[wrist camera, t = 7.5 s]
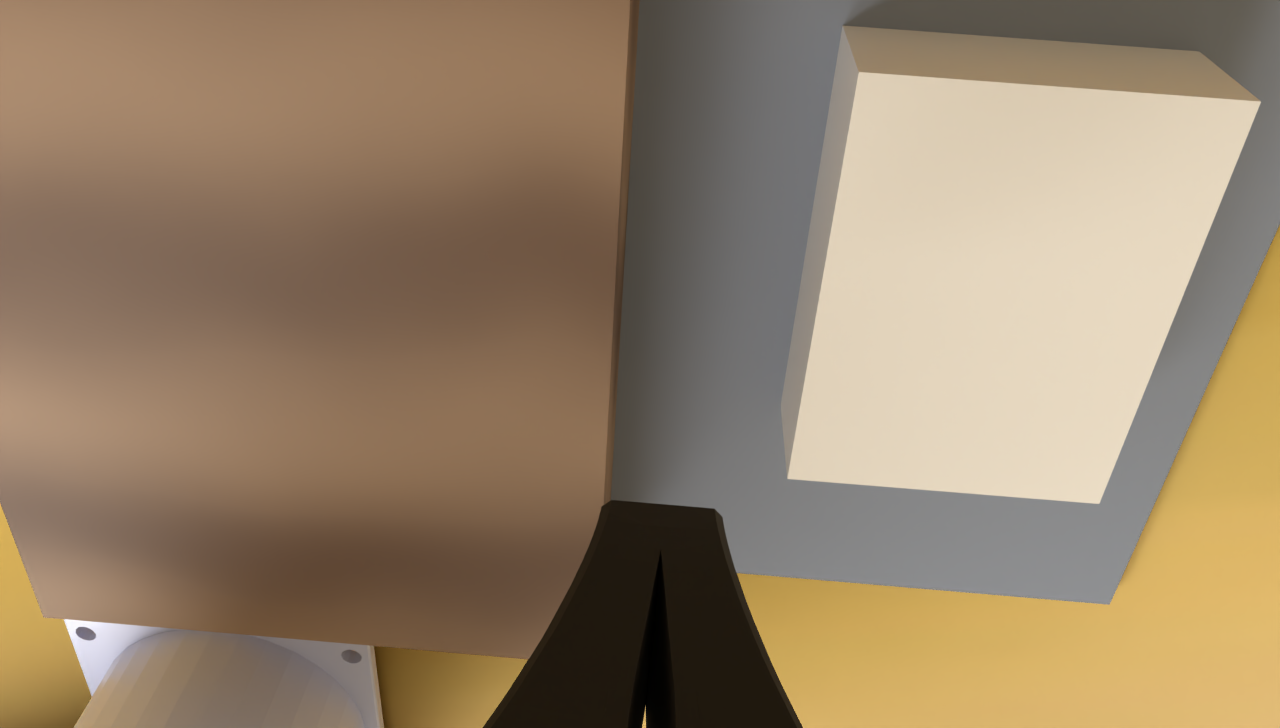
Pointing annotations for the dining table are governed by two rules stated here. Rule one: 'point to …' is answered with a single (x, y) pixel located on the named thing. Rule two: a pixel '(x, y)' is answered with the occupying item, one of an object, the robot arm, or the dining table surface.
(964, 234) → the cream tile
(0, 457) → the walnut riser
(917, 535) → the slate mat
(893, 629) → the dining table surface
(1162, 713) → the dining table surface
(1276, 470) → the dining table surface
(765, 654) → the robot arm
